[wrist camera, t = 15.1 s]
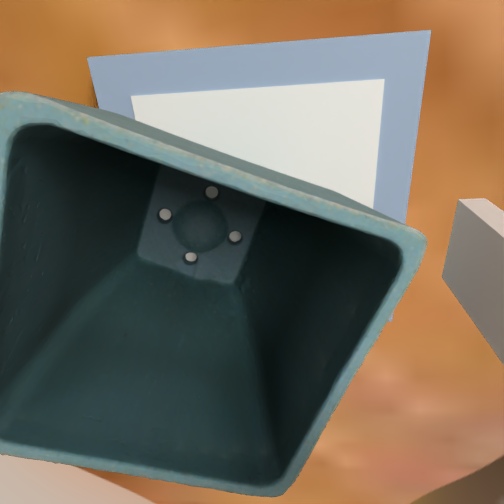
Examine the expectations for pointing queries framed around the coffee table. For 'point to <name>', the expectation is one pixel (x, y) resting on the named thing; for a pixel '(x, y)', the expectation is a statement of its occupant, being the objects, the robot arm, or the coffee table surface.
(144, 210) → the flower pot
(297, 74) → the pad
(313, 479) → the coffee table surface
